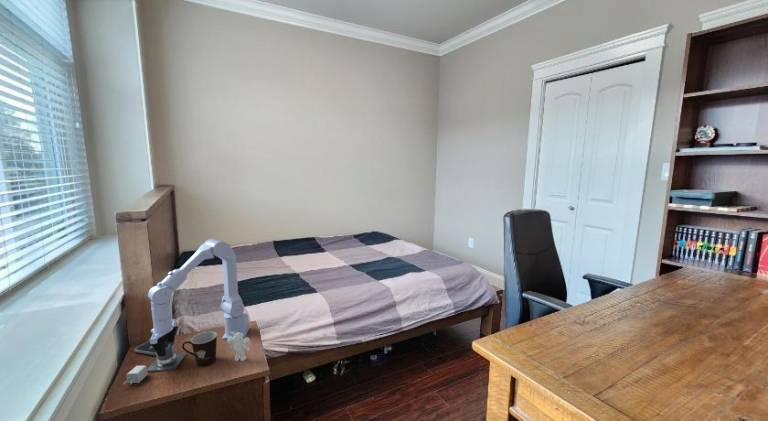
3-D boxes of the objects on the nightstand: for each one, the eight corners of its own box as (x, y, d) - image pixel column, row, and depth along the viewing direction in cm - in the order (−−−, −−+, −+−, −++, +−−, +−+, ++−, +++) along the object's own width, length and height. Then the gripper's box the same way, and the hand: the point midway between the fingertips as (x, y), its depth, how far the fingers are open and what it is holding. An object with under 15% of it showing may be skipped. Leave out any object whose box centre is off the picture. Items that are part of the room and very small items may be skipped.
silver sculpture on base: (187, 353, 128) (186, 340, 127) (175, 369, 118) (173, 355, 117) (160, 356, 127) (158, 343, 126) (145, 372, 117) (143, 358, 116)
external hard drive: (150, 344, 136) (150, 340, 135) (171, 348, 133) (171, 343, 133) (134, 354, 129) (133, 349, 129) (156, 357, 126) (155, 353, 126)
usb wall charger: (148, 375, 115) (146, 365, 115) (133, 389, 108) (132, 378, 108) (136, 375, 115) (135, 365, 115) (121, 389, 108) (120, 378, 108)
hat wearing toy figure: (226, 361, 123) (224, 332, 121) (232, 355, 127) (230, 326, 125) (248, 363, 122) (246, 333, 120) (253, 357, 126) (251, 328, 124)
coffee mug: (224, 357, 126) (222, 333, 124) (205, 370, 118) (203, 345, 116) (201, 351, 129) (199, 328, 128) (182, 364, 121) (179, 340, 120)
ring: (177, 350, 125) (176, 341, 124) (170, 359, 120) (169, 349, 119) (161, 351, 124) (160, 342, 124) (153, 360, 119) (152, 350, 118)
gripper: (160, 309, 126) (164, 341, 128) (138, 328, 112) (143, 363, 114) (180, 308, 127) (183, 340, 129) (160, 326, 113) (164, 362, 115)
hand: (166, 351), depth 122 cm, fingers closed on ring, 5 cm apart
